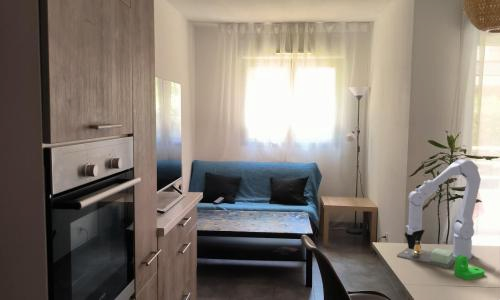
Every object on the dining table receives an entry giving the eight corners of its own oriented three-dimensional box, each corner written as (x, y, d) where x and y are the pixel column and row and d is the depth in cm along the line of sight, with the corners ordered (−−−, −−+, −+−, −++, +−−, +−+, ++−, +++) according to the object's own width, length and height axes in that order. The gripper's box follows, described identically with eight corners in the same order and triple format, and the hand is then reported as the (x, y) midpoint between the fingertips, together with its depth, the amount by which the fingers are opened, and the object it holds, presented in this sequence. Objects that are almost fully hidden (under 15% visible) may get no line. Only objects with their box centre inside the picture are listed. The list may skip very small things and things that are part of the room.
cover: (436, 255, 196) (436, 247, 195) (452, 258, 191) (453, 250, 191) (430, 260, 189) (430, 252, 188) (447, 264, 184) (448, 255, 184)
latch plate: (407, 249, 207) (408, 246, 207) (456, 259, 194) (457, 256, 194) (396, 257, 196) (396, 254, 195) (448, 268, 182) (448, 265, 182)
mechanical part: (467, 280, 170) (468, 260, 169) (454, 275, 175) (455, 255, 175) (487, 275, 175) (488, 256, 175) (473, 270, 181) (474, 252, 180)
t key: (414, 254, 196) (414, 244, 195) (415, 250, 202) (416, 240, 201) (419, 255, 195) (420, 245, 194) (421, 251, 201) (421, 241, 200)
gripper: (411, 213, 208) (410, 241, 209) (401, 219, 196) (399, 248, 198) (427, 215, 204) (425, 244, 205) (417, 221, 192) (415, 251, 193)
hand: (414, 246), depth 201 cm, fingers open, 7 cm apart
